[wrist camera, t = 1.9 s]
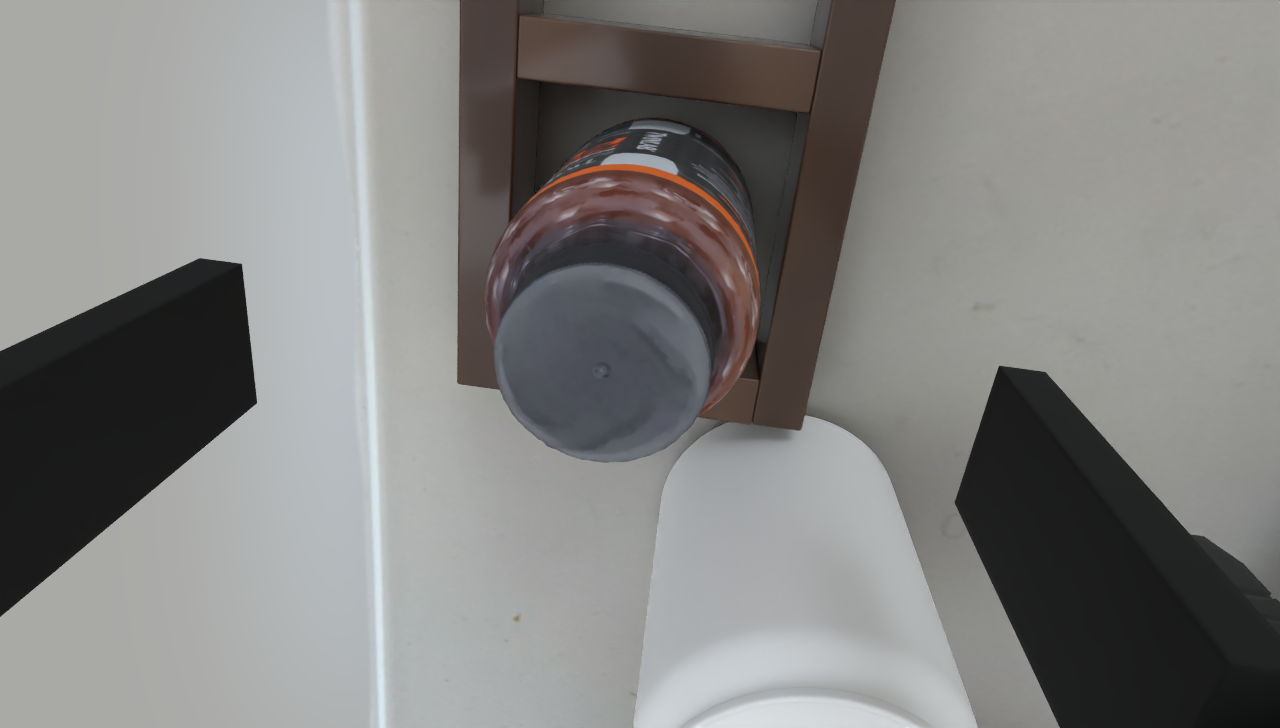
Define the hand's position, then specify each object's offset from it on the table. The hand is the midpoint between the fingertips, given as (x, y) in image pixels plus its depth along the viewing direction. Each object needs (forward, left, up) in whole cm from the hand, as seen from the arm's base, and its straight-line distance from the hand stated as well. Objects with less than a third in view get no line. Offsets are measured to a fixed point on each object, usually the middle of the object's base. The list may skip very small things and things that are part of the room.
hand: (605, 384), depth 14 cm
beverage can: (+10, -4, -12) cm, 16 cm away
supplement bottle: (0, 0, -12) cm, 12 cm away
